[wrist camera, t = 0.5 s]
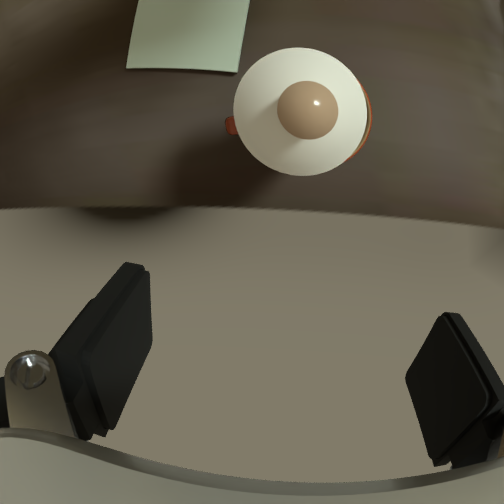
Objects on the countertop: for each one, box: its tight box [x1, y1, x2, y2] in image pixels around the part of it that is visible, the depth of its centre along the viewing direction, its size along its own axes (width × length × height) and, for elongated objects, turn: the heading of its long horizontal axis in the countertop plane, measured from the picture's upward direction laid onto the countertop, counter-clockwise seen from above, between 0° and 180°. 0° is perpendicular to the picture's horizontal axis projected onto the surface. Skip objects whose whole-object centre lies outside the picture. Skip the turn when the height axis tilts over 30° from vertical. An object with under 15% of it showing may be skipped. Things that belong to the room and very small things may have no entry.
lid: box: [233, 48, 367, 176], centre depth 20 cm, size 10×10×6 cm
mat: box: [126, 0, 250, 73], centre depth 27 cm, size 13×13×1 cm
